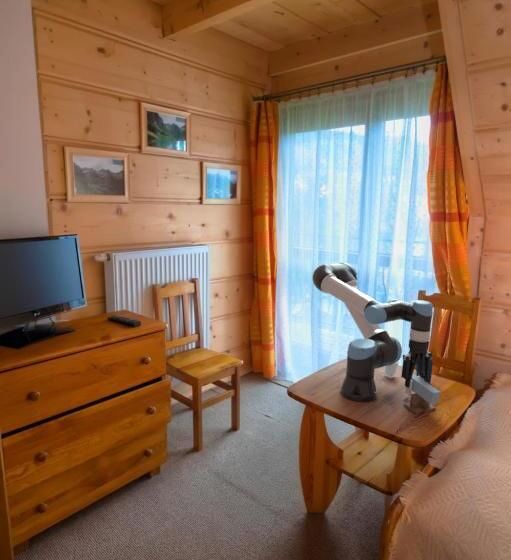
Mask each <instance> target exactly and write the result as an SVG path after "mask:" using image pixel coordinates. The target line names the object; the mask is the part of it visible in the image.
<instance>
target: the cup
mask: <svg viewBox="0 0 511 560" xmlns="http://www.w3.org/2000/svg"><path fill="white" fill-rule="evenodd" d="M399 361H400V360H399ZM399 361H398V362H396V363H394V364H392V365H389V366H384V367H382V368H383V371H384V375H385V378H388V379H394V378H395V375H396V373H397V370H398V367H399V363H400V362H399ZM393 377H394V378H393Z"/></svg>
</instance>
